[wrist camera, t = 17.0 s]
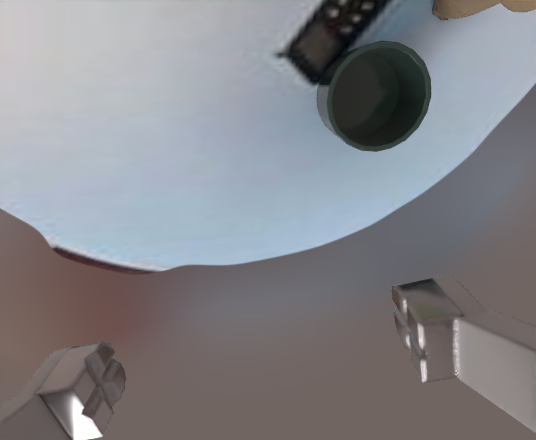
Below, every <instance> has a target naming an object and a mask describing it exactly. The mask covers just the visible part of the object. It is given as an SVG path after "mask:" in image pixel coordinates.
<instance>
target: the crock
mask: <svg viewBox="0 0 536 440" xmlns="http://www.w3.org/2000/svg"><path fill="white" fill-rule="evenodd" d="M430 98H431V78H430V76H429V73H428V70H427V68H426V65H425V63H424V61H423V60H422V59H421V58H420V57H419V56H418V54H417V53H416V52H415V51H414V50H413V49H411V48H409V47H407V46H405V45H403V44H401V43H398V42H389V41H379V42H375V43H371V44H367V45H364V46H361V47H359V48H356V49H353V50H351V51H348V52H346V53H345V54H343V55H341V56H340V57H338V58H337V59H335V60H334V61H333V62H332V63H331V64H330V65H329V67H328V68H327V69H326V71H325V72H324V74H323V76H322V78H321V80H320V83H319V86H318V90H317V108H318V112H319V115H320V117H321V119H322V121H323V123H324V125H325V126H326V127H327V128H328V129H329V130H330V131H331V132H332V133H333V134H334V135H336V136H337V137H338V138H340V139H341V140H342V141H344V142H345V143H346V144H348V145H350V146H352V147H354V148H357V149H359V150H362V151H374V152H377V151H381V150H385V149H390V148H393V147H394V146H396V145H398V144H400V143H401V142H403V141H405V140H406V139H407V138H408V137H409V136H410V135H411V134H412V133H413V132H414V131H415V130H416V129H417V128H418V127H419V125H420V124H421V122H422V120H423V118H424V117H425V115H426V112H427V110H428V106H429V102H430Z"/></svg>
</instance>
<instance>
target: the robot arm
mask: <svg viewBox="0 0 536 440" xmlns="http://www.w3.org/2000/svg"><path fill="white" fill-rule="evenodd" d="M392 299H393V301H394V303H395V304H396V306H397V308H396V310H395V311H394V318H395V323H396V327H397V331H398V334H399V337H400V339H401V341H402V343H403V345H404V347H405V348H406V349H408V350H410V351H411V360H412V363H413V365H414V366H415V368H416V370H417V372H418V374H419V376H420V378H421V380H422V382H423V383H424V382H431V381H439V380H445V379H453V378H459V379H460V380H461V381H462V382H464V383H465V384H467V385H468V386H470V387H471V388H472V389H474V390H476V391H477V392H478V393H480V394H481V395H482V396H484V397H485V398H487V399H488V400H490V401H491V402H493V403H494V404H495V405H497V406H498V407H500V408H501V409H502V410H504V411H505V412H507V413H508V414H510V415H511V416H512V417H514V418H515V419H517V420H518V421H520V422H521V423H523V424H524V425H525V426H527V427H529V428H530V429H531V430H532V431H534V432H535V433H536V326H535V325H532V324H530V323H527V322H524V321H522V320H519V319H516V318H514V317H511V316H508V315H505V314H503V313H500V312H497V311H491V312H489V311H488V310H487V309H486V308H485V307H484V306H483V305H482V304H481V303H480V302H479V301H478V300H477V299H476V298H475V297H474V296H473V295H472V294H471V293H470V292H469V291H468V290H467V289H466V288H465V287H464V286H463V285H462V284H461V283H460V282H459V281H458V280H457V279H456V278H455V277H454V276H453V275H451V274H446V275H441V276H437V277H432V278H430V279H426V280H421V281H417V282H411V283H406V284H401V285H396V286H392ZM113 356H114V350H113V348H112V347H111V345H110V343H106V342H100V343H94V344H88V345H82V346H77V347H72V348H66V349H60V350H57V351H55V352H52V353H51V354H50V355H49V356H48V358H47V359H46V360H45V361H44V363H43V364H42V365H41V366H40V368H39V369H38V370H37V371H36V372H35V374H34V375H33V376H32V377H31V379H30V380H29V381H28V382H27V384H26V385H25V386H24V387H23V388H22V390H21V391H20V392H19V394H18V395H17V396H16V397H15V398H14V399H10V400H8V401H6V402H5V403H4V404H2V405H1V406H0V440H87V439H92V438H97V437H102V436H103V435H104V432H105V430H106V428H107V426H108V424H109V422H110V420H111V417H112V415H113V413H114V412H113V408H112V406H113V405H114V404H115V403H116V402H117V401H118V400H119V399H120V398H121V396H122V394H123V391H124V389H125V381H126V376H125V371H124V368H123V367H122V365H121V363H119V362H118V361H116V360H115V359H113Z"/></svg>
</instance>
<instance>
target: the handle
mask: <svg viewBox="0 0 536 440" xmlns="http://www.w3.org/2000/svg"><path fill="white" fill-rule="evenodd" d="M499 3H501V4H502V5H503V6H504V7H506V8H507V9H509V10H511V11H513V12H528V11H532V10H535V9H536V0H435V5H434V8H433V10H432V12H433V14H436V15H438V16H439V17H440V20H448V19H456V18H462V17H466V16H470V15H473V14H476V13H478V12H481V11H483V10H485V9H487V8H490V7H492V6H494V5H496V4H499Z"/></svg>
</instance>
